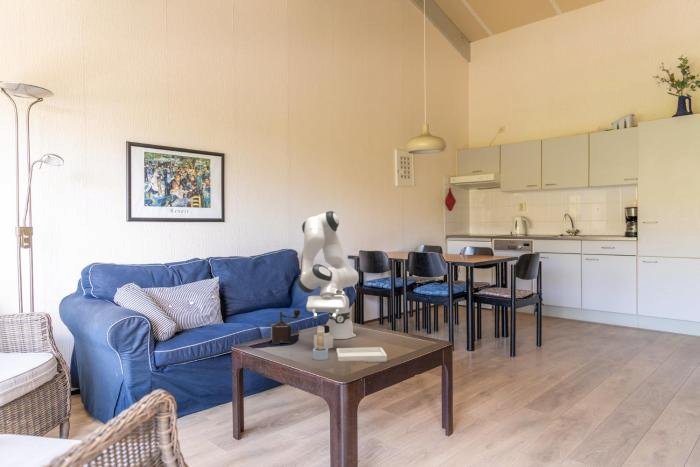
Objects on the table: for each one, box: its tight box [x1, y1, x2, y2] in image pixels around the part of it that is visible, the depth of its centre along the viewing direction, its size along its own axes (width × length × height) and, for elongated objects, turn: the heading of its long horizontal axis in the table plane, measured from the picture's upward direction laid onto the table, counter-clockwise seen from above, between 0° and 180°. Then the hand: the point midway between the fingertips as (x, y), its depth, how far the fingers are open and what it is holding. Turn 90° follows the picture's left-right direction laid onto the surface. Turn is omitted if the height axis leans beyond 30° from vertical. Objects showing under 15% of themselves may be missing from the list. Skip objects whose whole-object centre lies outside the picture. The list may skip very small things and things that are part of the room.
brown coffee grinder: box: [270, 308, 302, 343], centre depth 250 cm, size 16×11×18 cm
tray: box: [336, 346, 388, 364], centre depth 215 cm, size 16×22×3 cm
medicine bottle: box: [313, 324, 334, 350], centre depth 232 cm, size 7×7×12 cm
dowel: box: [316, 331, 324, 351], centre depth 211 cm, size 3×3×12 cm
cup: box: [312, 347, 329, 361], centre depth 211 cm, size 7×7×5 cm
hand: (324, 317), depth 223 cm, fingers open, 8 cm apart
